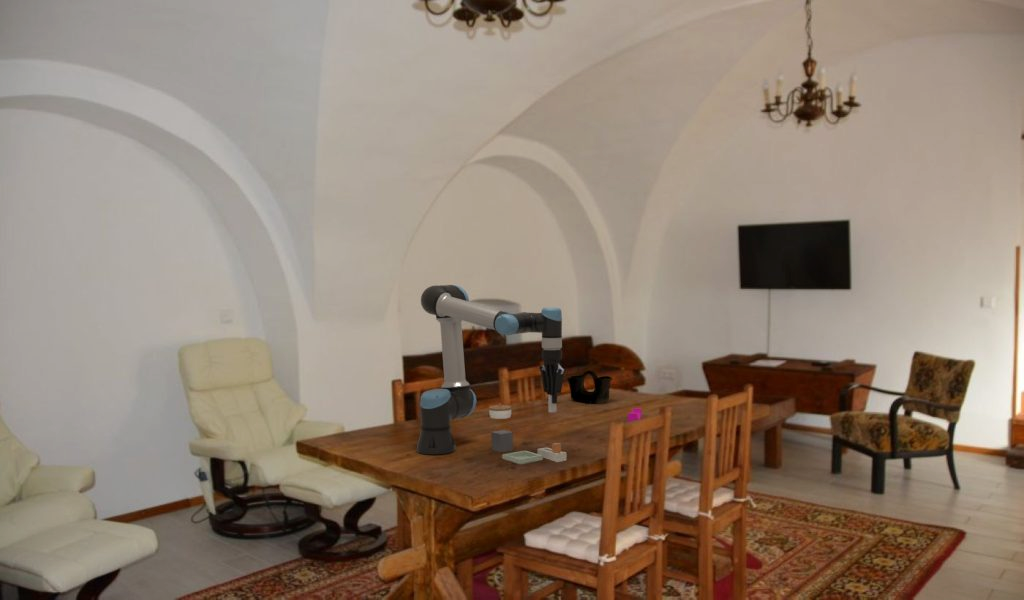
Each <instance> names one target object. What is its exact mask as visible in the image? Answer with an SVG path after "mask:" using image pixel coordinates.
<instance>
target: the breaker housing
mask: <svg viewBox="0 0 1024 600" xmlns="http://www.w3.org/2000/svg"><path fill="white" fill-rule="evenodd" d="M536 452H537V454H540V455H543V459H547V460H549V461H553V462H556V463H561V462H564V461H567V452H566V451H562V450H561V452H558V453H555V452H552V447H551V448H550V447H541V448H540V447H539V448H537V451H536Z"/></svg>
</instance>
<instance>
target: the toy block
mask: <svg viewBox="0 0 1024 600" xmlns="http://www.w3.org/2000/svg"><path fill="white" fill-rule="evenodd" d="M642 412H643V411H642V408H641V407H640V408H632V412H628V413H627V423H628V422H630V421H634V420H638V419H641V418H642ZM642 419H643V418H642Z"/></svg>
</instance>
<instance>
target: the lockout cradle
mask: <svg viewBox="0 0 1024 600" xmlns="http://www.w3.org/2000/svg"><path fill="white" fill-rule="evenodd" d="M501 454H502V453H501ZM501 459H503V460H505V461H509V462H511V463H512V464H513V463H514V464H515V465H520V466H521V465H524V464H525V465H526V464H531V463H535V462H541V461H543V460H544V458H543V455H540V454H538V453H535V452H532V451H528V450H520V451H515V452H508V453H503V454H502V455H501Z"/></svg>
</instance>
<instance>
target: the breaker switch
mask: <svg viewBox="0 0 1024 600" xmlns="http://www.w3.org/2000/svg"><path fill="white" fill-rule="evenodd" d="M551 449H552V452H555V453H558V452H561V451H562V444H561V443H560V442H554V443H551Z"/></svg>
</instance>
